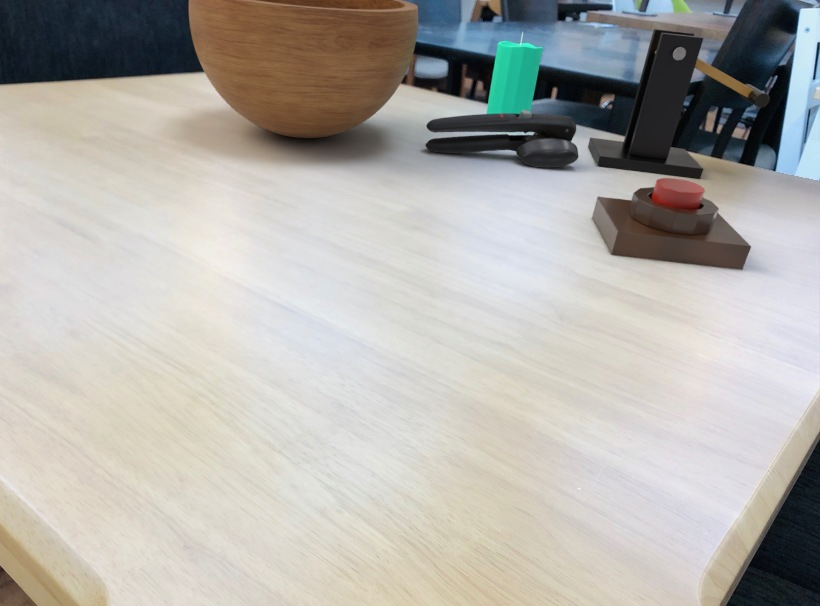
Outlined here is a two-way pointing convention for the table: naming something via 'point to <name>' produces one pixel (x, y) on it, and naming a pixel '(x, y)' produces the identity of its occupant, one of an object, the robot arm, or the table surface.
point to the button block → (669, 232)
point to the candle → (514, 77)
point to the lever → (735, 84)
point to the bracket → (656, 111)
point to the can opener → (510, 136)
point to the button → (678, 193)
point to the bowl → (304, 59)
